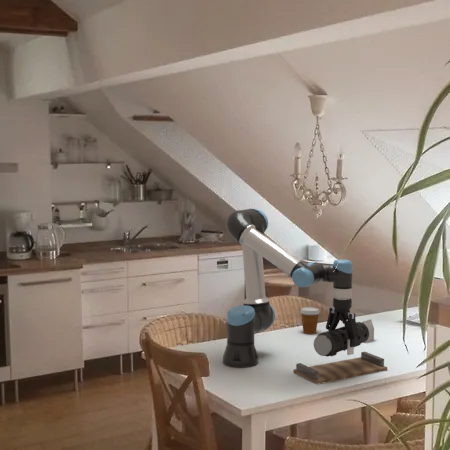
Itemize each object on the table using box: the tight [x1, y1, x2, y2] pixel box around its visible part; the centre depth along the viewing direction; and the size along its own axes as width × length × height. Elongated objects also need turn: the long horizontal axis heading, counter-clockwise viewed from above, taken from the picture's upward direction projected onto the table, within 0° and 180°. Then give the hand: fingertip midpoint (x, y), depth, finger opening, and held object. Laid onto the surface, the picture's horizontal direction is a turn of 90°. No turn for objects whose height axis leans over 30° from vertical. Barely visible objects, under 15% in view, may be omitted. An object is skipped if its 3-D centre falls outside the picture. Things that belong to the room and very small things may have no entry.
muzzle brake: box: [313, 321, 369, 357], centre depth 280 cm, size 10×28×10 cm, turn 137°
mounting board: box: [292, 351, 388, 385], centre depth 281 cm, size 36×16×4 cm, turn 119°
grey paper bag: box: [361, 319, 375, 344], centre depth 327 cm, size 4×7×10 cm, turn 133°
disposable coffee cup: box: [300, 306, 320, 335], centre depth 341 cm, size 10×10×12 cm
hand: (341, 350), depth 281 cm, fingers closed on muzzle brake, 11 cm apart
